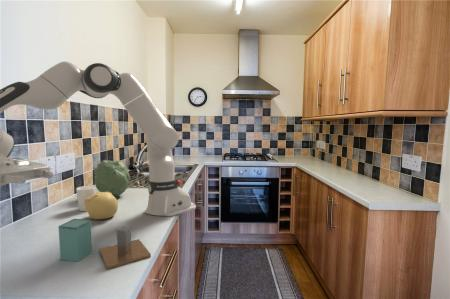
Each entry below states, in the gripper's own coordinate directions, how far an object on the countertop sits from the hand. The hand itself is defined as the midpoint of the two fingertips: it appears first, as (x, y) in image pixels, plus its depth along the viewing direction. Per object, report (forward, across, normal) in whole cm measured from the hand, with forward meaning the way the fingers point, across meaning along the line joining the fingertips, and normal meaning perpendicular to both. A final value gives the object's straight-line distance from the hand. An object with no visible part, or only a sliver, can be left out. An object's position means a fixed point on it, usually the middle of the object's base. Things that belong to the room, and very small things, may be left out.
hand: (38, 177), depth 76 cm
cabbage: (-11, +59, +22) cm, 64 cm away
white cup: (-10, +39, +23) cm, 46 cm away
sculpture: (+3, +30, +22) cm, 37 cm away
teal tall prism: (+14, 0, +22) cm, 26 cm away
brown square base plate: (+28, +4, +20) cm, 35 cm away
